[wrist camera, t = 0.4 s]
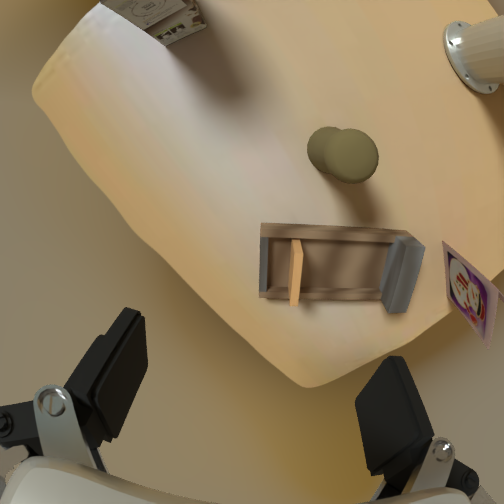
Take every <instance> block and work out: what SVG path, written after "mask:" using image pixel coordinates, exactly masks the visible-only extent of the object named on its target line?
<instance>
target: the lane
mask: <svg viewBox="0 0 504 504" xmlns="http://www.w3.org/2000/svg"><path fill="white" fill-rule="evenodd" d="M292 238H300V242H301V246H302V250H303V263H302V273H301V282H300V291H299V299H333V300H362V299H381V301H382V303H383V305H384V306H385V308H386V310H387V312H388V313H405V312H406V311H407V308H408V305H409V302H410V299H411V296H412V293H413V290H414V287H415V284H416V280H417V277H418V274H419V270H420V266H421V263H422V259H423V255H424V251H425V246H424V245H422V244H421V243H420V242H419V241H418V240H417V239H416V238H414V237H413V236H412V235H411V234H410V233H409V232H407V231H405V230H392V229H377V228H362V227H345V226H326V225H305V224H280V223H261V229H260V273H259V298H281V299H289V290H288V280H289V268H290V254H291V240H292Z"/></svg>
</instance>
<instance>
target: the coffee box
mask: <svg viewBox="0 0 504 504" xmlns="http://www.w3.org/2000/svg"><path fill="white" fill-rule="evenodd" d="M100 2H101V4H103V5H105V6H106V7H108V8H109V9H111V10H113V11H114V12H116V13H117V14H119V15H121V16H122V17H124V18H125V19H127V20H128V21H130V22H131V23H133V24H134V25H136V26H137V27H139V28H140V29H142V30H143V31H145V32H146V33H148V34H149V35H150V36H152V37H153V38H155V39H156V40H157V41H159V42H160V43H161V44H163V45H164V46H167V45H169V44H171V43H173V42H175V41H177V40H179V39H181V38H183V37H185V36H188V35H190V34H192V33H194V32H197V31H199V30H201V29H204V28H206V26H207V25H206V23H205V21H204V18H203V16H202V14H201V12H200V10H199V8H198V6H197V4H196V2H195V0H100Z"/></svg>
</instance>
